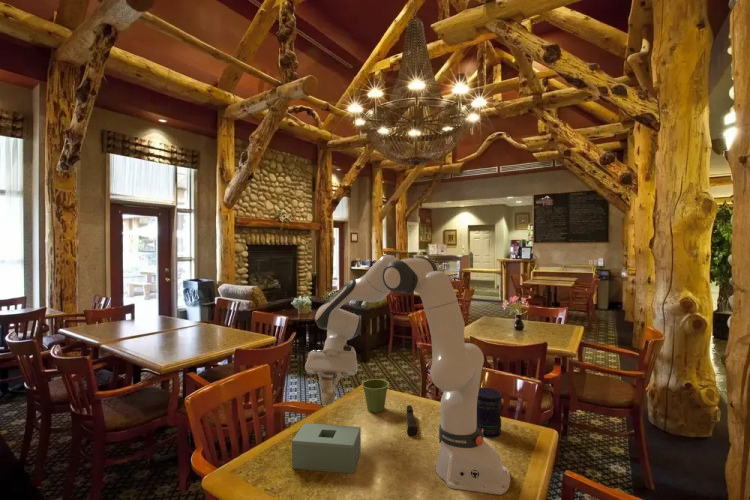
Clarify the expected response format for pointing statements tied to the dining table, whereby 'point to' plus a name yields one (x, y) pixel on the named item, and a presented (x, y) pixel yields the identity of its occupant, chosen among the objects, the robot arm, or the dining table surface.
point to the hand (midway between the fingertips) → (327, 384)
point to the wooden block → (328, 388)
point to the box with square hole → (326, 448)
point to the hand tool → (411, 422)
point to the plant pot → (375, 394)
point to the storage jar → (489, 412)
